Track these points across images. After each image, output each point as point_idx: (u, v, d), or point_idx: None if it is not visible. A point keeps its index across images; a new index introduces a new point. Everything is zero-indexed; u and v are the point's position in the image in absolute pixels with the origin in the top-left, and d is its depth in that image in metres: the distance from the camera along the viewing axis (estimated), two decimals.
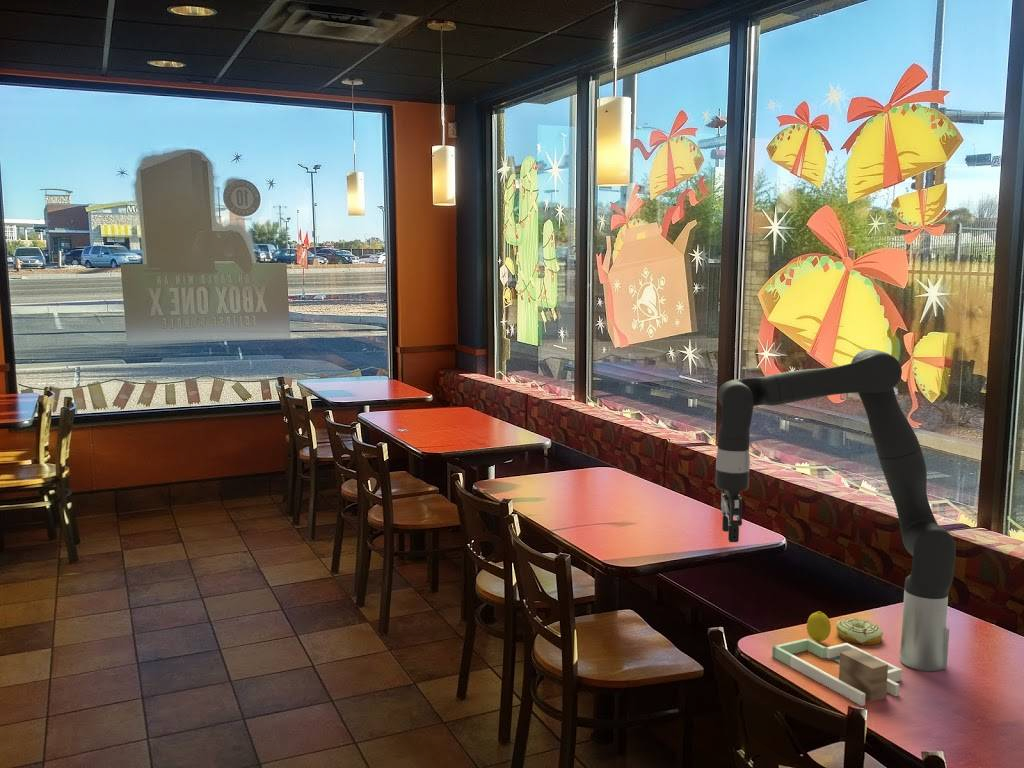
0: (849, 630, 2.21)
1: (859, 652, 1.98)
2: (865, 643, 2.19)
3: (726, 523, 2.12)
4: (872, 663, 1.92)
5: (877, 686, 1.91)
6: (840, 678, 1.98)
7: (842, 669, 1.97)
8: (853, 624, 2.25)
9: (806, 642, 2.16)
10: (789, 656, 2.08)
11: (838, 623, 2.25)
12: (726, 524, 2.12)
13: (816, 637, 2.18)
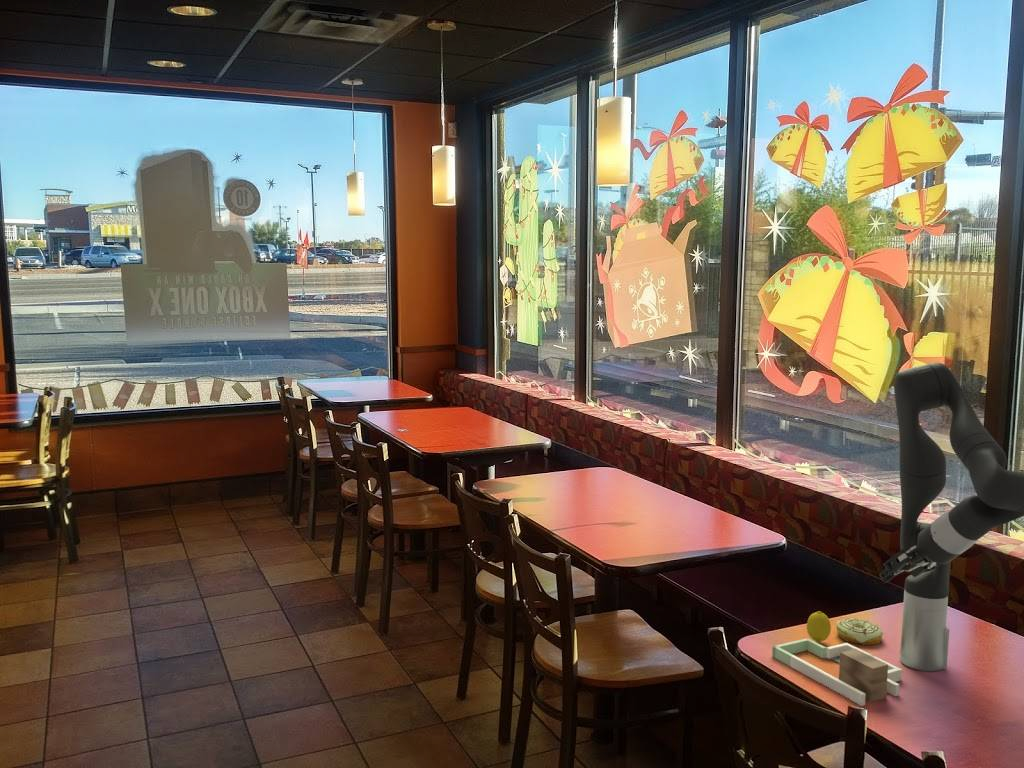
0: (849, 630, 2.21)
1: (859, 652, 1.98)
2: (865, 643, 2.19)
3: None
4: (872, 663, 1.92)
5: (877, 686, 1.91)
6: (840, 678, 1.98)
7: (842, 669, 1.97)
8: (853, 624, 2.25)
9: (806, 642, 2.16)
10: (789, 656, 2.08)
11: (838, 623, 2.25)
12: None
13: (816, 637, 2.18)
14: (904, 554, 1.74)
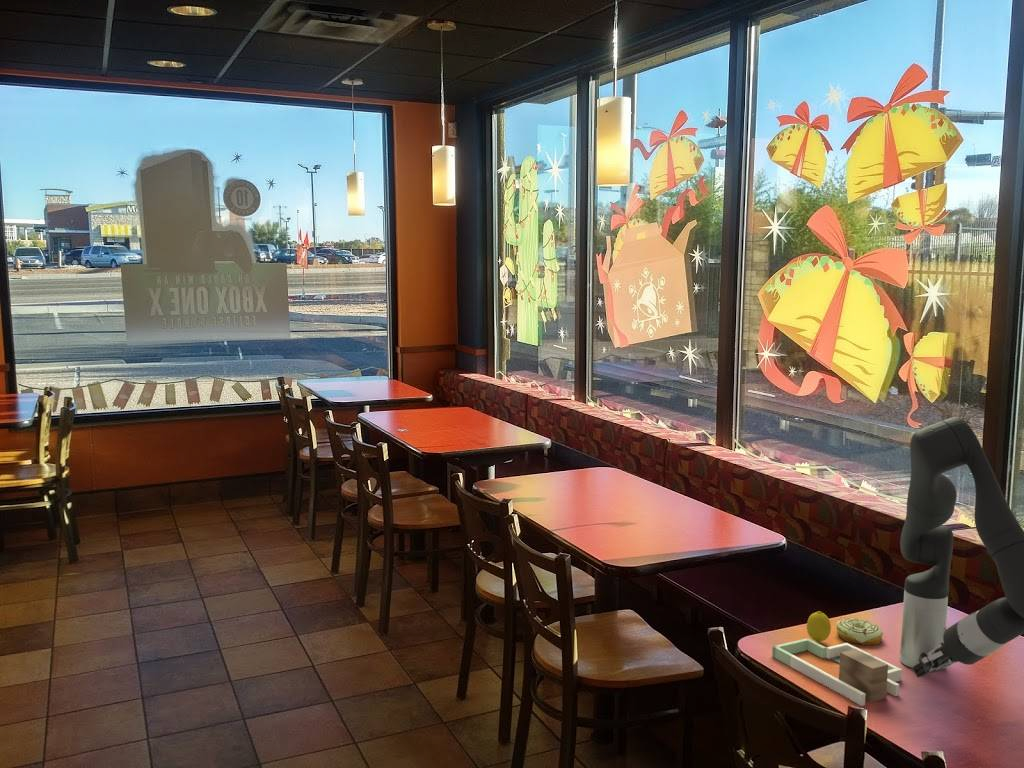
0: (849, 630, 2.21)
1: (859, 652, 1.98)
2: (865, 643, 2.19)
3: None
4: (872, 663, 1.92)
5: (877, 686, 1.91)
6: (840, 678, 1.98)
7: (842, 669, 1.97)
8: (853, 624, 2.25)
9: (806, 642, 2.16)
10: (789, 656, 2.08)
11: (838, 623, 2.25)
12: None
13: (816, 637, 2.18)
14: (923, 659, 1.73)
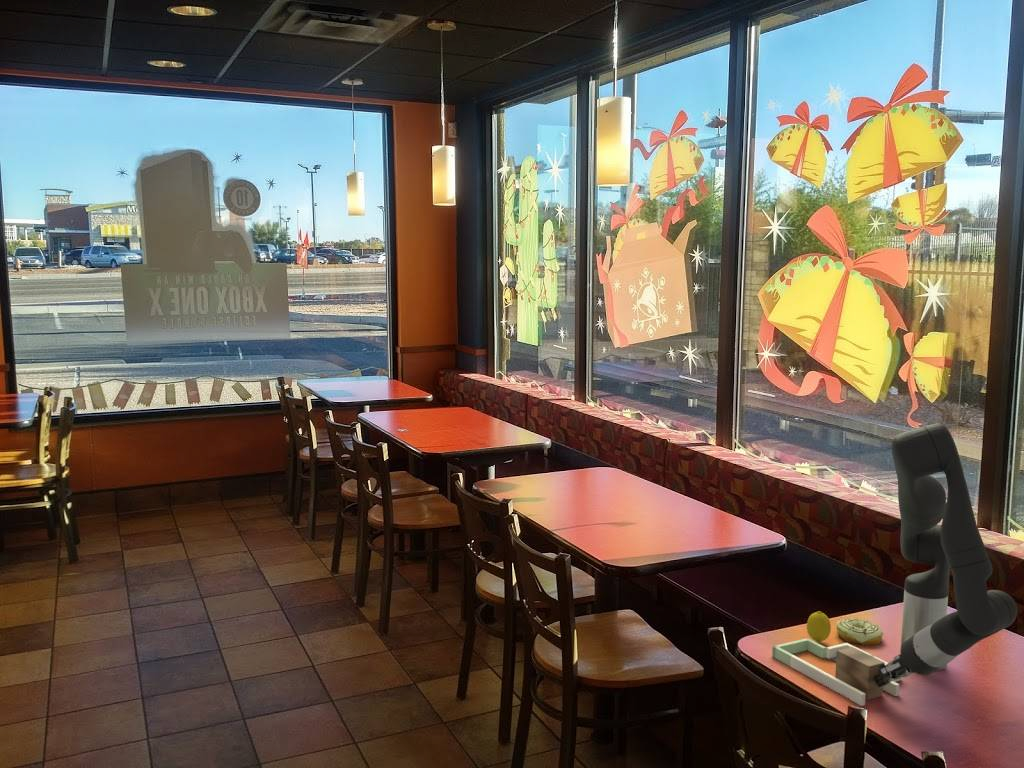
0: (849, 630, 2.21)
1: (855, 650, 1.98)
2: (865, 643, 2.19)
3: None
4: (868, 661, 1.93)
5: (873, 684, 1.92)
6: (837, 676, 1.99)
7: (839, 667, 1.98)
8: (853, 624, 2.25)
9: (806, 642, 2.16)
10: (789, 656, 2.08)
11: (838, 623, 2.25)
12: None
13: (816, 637, 2.18)
14: (882, 670, 1.83)
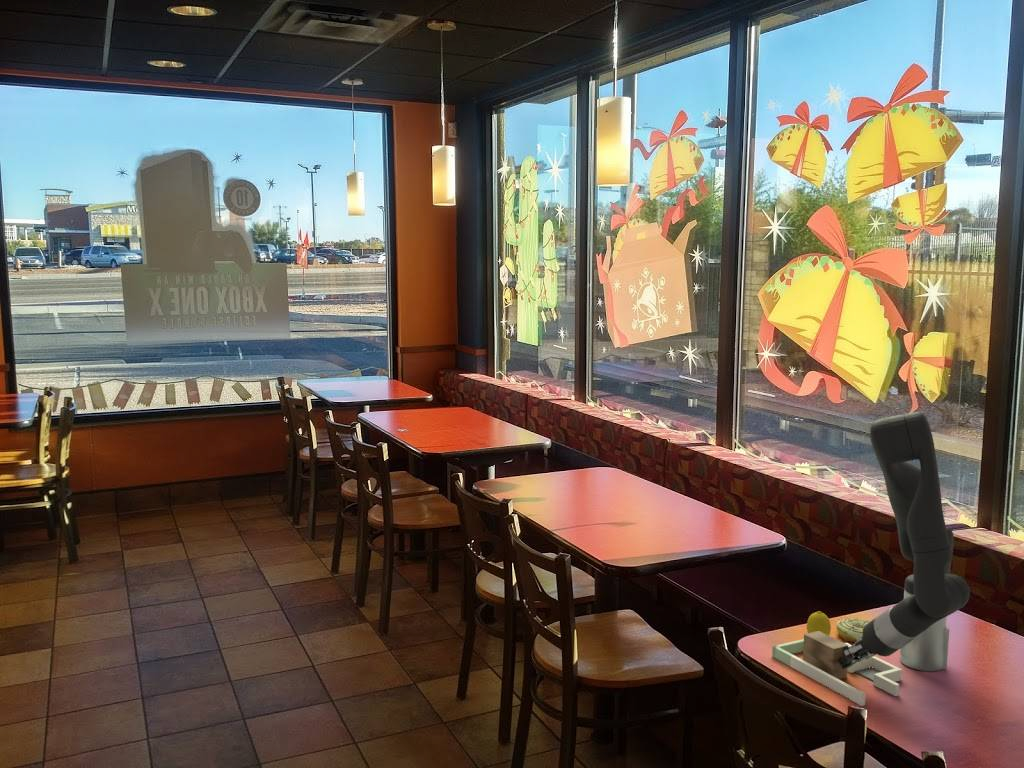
0: (849, 630, 2.21)
1: (822, 634, 2.07)
2: None
3: None
4: (833, 644, 2.01)
5: (838, 666, 2.00)
6: (804, 659, 2.07)
7: (806, 650, 2.07)
8: (853, 624, 2.25)
9: None
10: (789, 656, 2.08)
11: (838, 623, 2.25)
12: None
13: None
14: (845, 651, 1.91)
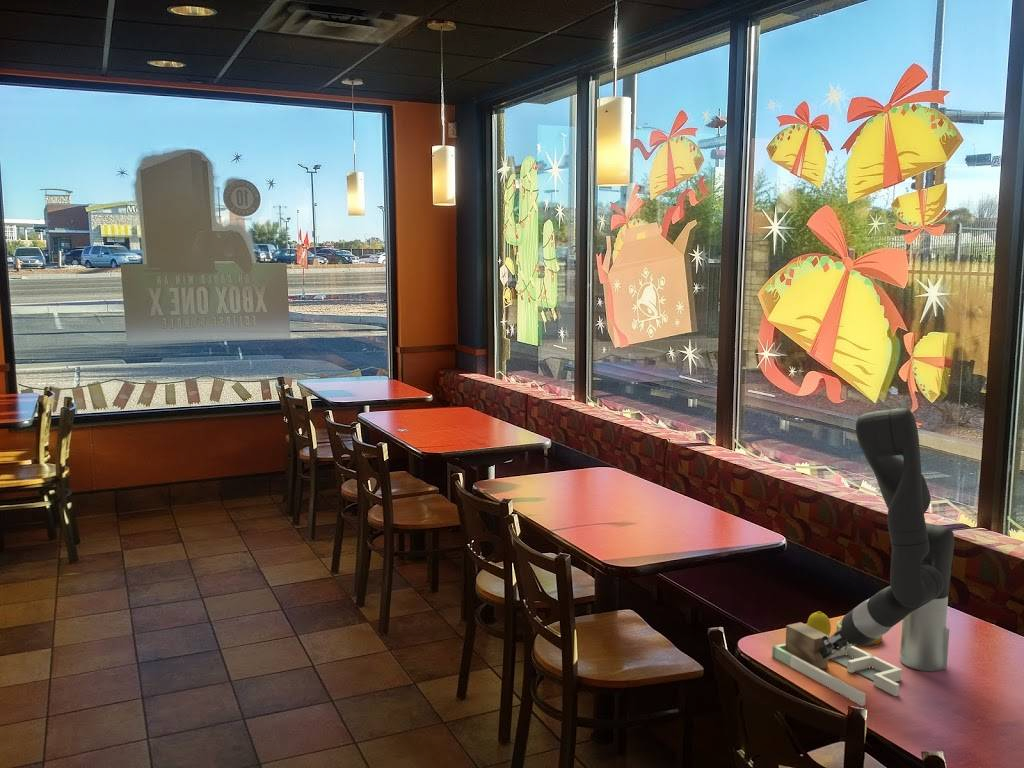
0: None
1: (804, 625, 2.12)
2: None
3: None
4: (814, 635, 2.07)
5: (819, 656, 2.06)
6: (786, 649, 2.13)
7: (788, 641, 2.12)
8: None
9: None
10: (789, 656, 2.08)
11: (838, 623, 2.25)
12: None
13: None
14: (824, 641, 1.96)
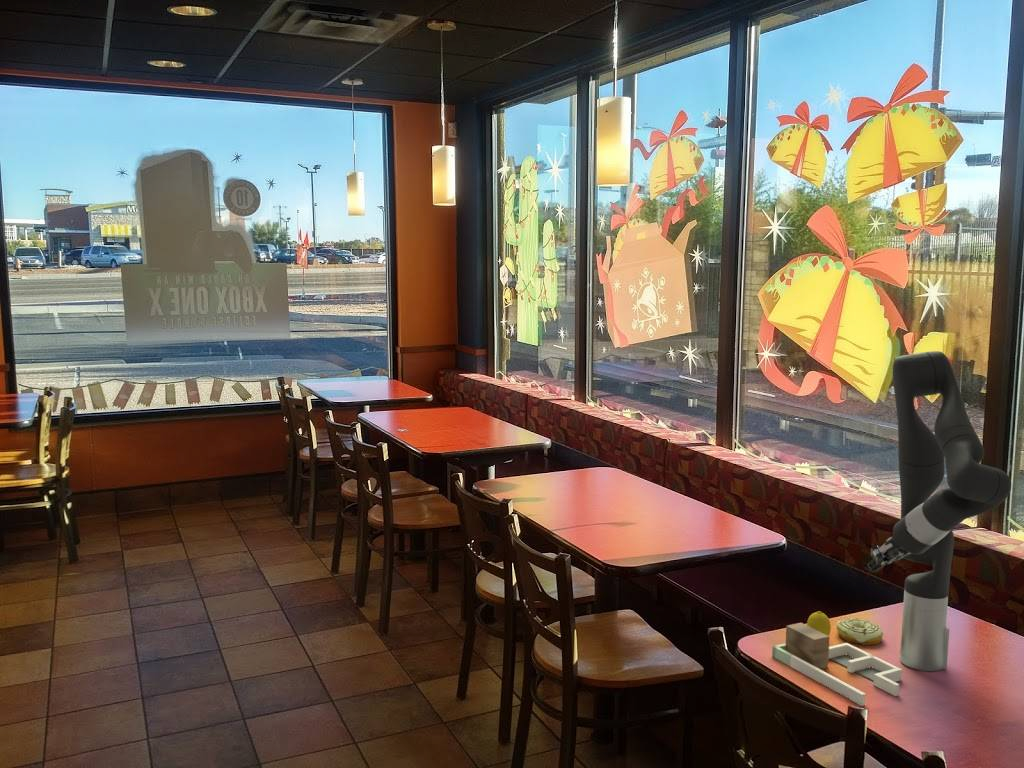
0: (849, 630, 2.21)
1: (804, 625, 2.12)
2: (865, 643, 2.19)
3: None
4: (814, 635, 2.07)
5: (819, 656, 2.06)
6: (786, 650, 2.13)
7: (788, 641, 2.12)
8: (853, 624, 2.25)
9: None
10: (789, 656, 2.08)
11: (838, 623, 2.25)
12: None
13: None
14: (874, 551, 1.83)
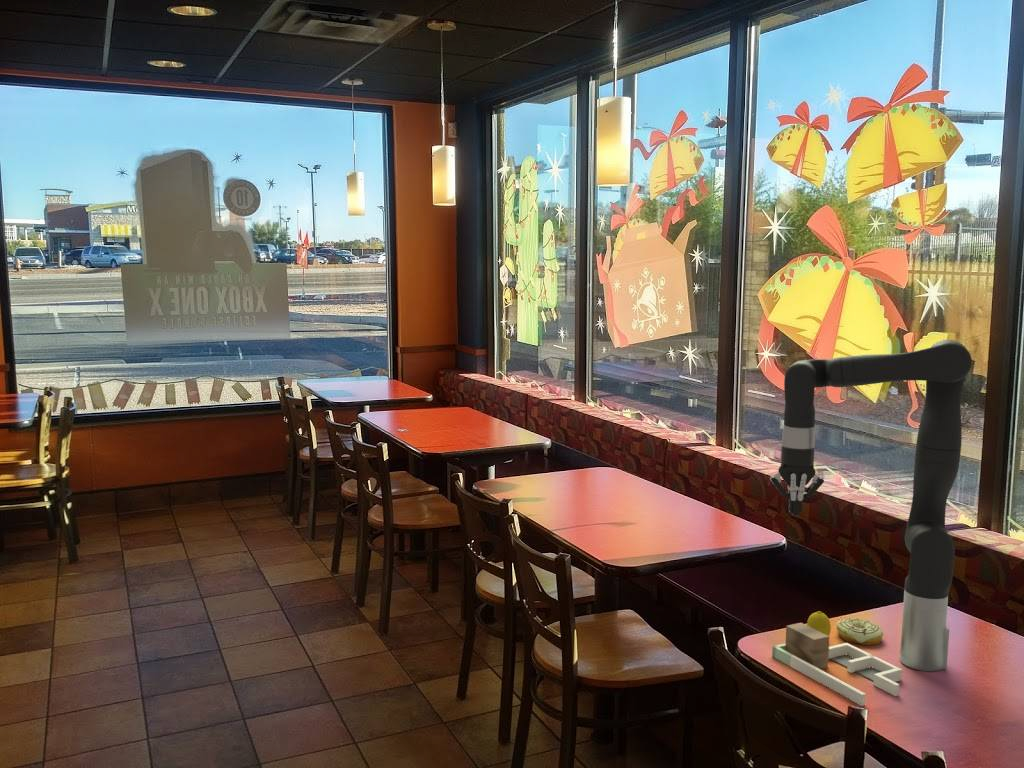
0: (848, 630, 2.21)
1: (804, 625, 2.12)
2: (865, 643, 2.19)
3: None
4: (814, 635, 2.07)
5: (819, 656, 2.06)
6: (786, 650, 2.13)
7: (788, 641, 2.12)
8: (853, 624, 2.25)
9: None
10: (789, 656, 2.08)
11: (838, 623, 2.25)
12: None
13: None
14: (770, 478, 2.17)
